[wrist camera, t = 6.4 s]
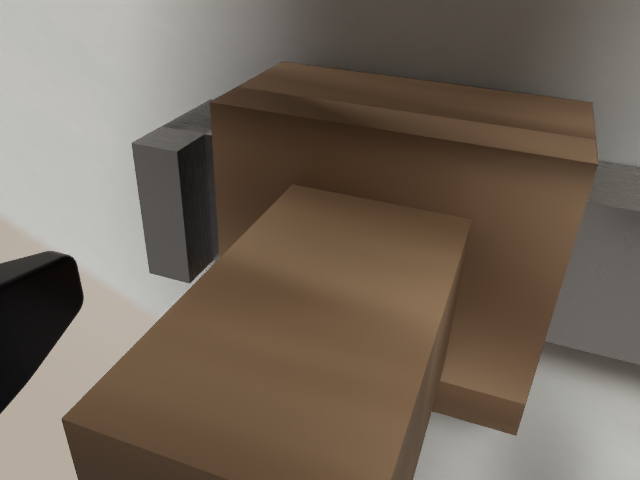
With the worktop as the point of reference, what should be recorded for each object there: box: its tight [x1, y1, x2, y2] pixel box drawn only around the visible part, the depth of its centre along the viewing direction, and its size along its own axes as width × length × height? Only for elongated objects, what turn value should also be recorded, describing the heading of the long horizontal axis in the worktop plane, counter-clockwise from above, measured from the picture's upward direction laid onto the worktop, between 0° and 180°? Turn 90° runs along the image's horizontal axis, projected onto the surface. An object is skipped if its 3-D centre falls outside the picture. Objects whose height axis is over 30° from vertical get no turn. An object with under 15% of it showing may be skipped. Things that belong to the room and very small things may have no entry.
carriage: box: [62, 62, 598, 480], centre depth 9 cm, size 5×6×8 cm
